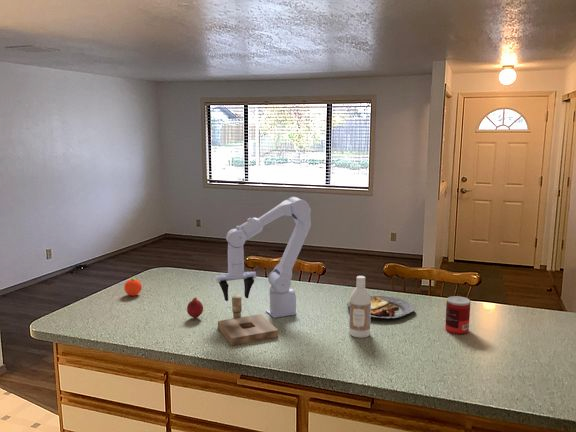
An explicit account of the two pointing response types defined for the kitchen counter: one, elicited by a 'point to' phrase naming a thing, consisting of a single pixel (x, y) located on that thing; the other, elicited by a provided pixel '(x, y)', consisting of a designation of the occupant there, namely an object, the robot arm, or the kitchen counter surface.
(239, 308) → the peg
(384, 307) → the food plate
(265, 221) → the robot arm
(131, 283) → the clementine
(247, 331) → the board
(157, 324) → the kitchen counter surface
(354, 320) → the bath foam
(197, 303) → the pomegranate
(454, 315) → the canned food
